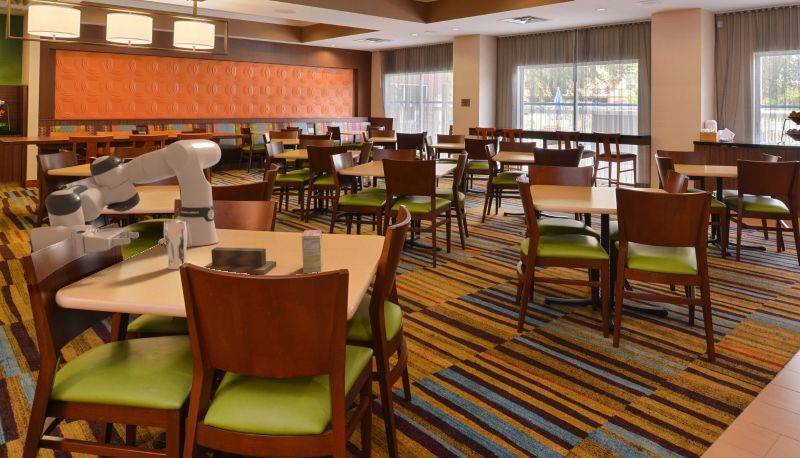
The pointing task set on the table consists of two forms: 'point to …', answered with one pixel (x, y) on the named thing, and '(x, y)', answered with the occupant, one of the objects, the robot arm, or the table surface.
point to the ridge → (241, 260)
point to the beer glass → (175, 242)
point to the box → (312, 251)
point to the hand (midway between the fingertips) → (134, 237)
